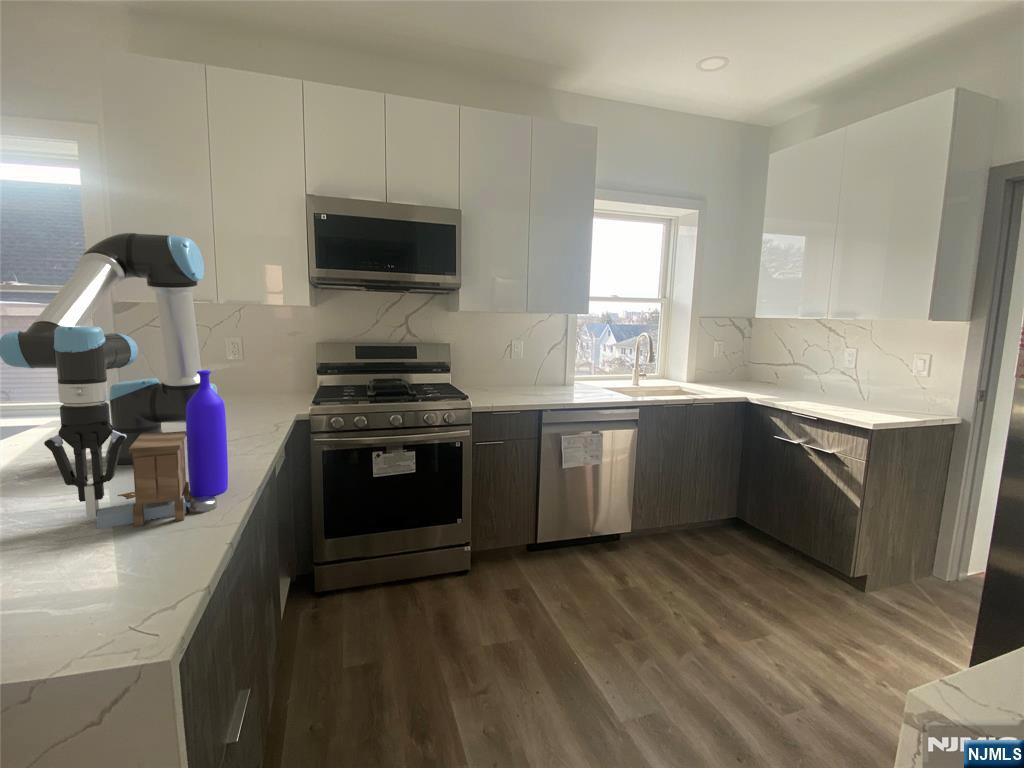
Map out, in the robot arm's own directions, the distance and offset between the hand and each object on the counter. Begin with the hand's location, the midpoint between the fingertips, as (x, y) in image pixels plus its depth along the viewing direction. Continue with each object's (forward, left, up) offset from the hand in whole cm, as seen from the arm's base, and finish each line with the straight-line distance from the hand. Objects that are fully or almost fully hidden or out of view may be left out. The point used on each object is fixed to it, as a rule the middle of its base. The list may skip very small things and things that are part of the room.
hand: (93, 514), depth 103 cm
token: (0, +19, -2) cm, 19 cm away
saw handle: (-19, +13, -2) cm, 23 cm away
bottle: (-11, +20, -2) cm, 23 cm away
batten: (+1, +9, -2) cm, 9 cm away
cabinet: (0, +12, -1) cm, 12 cm away
